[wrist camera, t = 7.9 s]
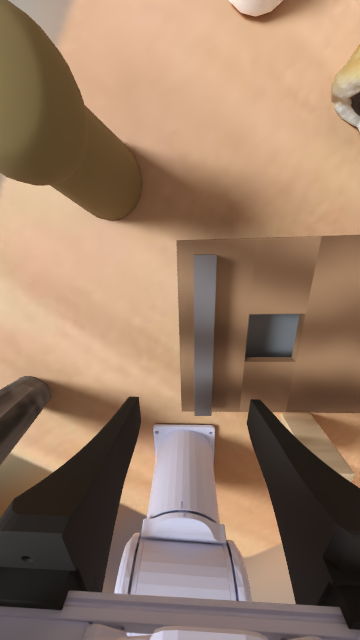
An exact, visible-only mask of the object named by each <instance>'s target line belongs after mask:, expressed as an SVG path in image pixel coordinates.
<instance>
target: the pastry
mask: <svg viewBox="0 0 360 640" xmlns="http://www.w3.org/2000/svg"><path fill="white" fill-rule="evenodd" d="M331 101H332V102H333V103H334V109H335V111H336V112H337V113H338V115H339V116H340V118H341V119H344V120H345V121H346V122H348V123H349V124H351V125H353V126H356V127H357V128H358V130H359V132H360V45H359V46H358V48H357V49H356V51H355V52H354V54H353V55H352V56H351V58H350V59H349V61H348V62H347V63H346V65H345V66H344V67H343V68H342V69H341V70H340V71H339V72H338V73H337V74H336V76H335V79H334V81H333V83H332V87H331Z"/></svg>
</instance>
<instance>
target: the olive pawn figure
mask: <svg viewBox="0 0 360 640" xmlns="http://www.w3.org/2000/svg"><path fill="white" fill-rule="evenodd" d="M0 173H1V174H3V175H5V176H6V177H9V178H11V179H14V180H17V181H20V182H24V183H28V184H32V185H50V186H52V187H53V188H55V189H56V190H58V191H59V192H61V193H62V194H63V195H65V196H66V197H68V198H69V199H71V200H72V201H74V202H75V203H76V204H78V205H79V206H81V207H82V208H84V209H85V210H87V211H88V212H90V213H91V214H93V215H94V216H96V217H98V218H101V219H105V220H117V219H121V218H123V217H124V216H126V215H128V214H129V213H130V212H131V211H132V210H133V209H134V208H135V207H136V204H137V202H138V200H139V198H140V195H141V187H142V179H141V172H140V168H139V165H138V163H137V161H136V158H135V156H134V155H133V154H132V153H131V151H130V150H129V149H128V147H127V146H126V145H125V144H124V143H123V142H122V141H121V140H120V139H119V138H118V137H117V136H116V135H115V134H114V133H113V132H112V131H111V130H110V129H109V128H107V127H106V126H105V125H104V124H103V123H102V122H101V121H100V120H99V119H98V118H97V117H96V116H95V115H94V114H93V113H92V112H91V111H90V110H89V109H88V108H87V107H86V106H85V105H84V101H83V99H82V96H81V93H80V90H79V88H78V86H77V83H76V81H75V79H74V77H73V75H72V72H71V70H70V68H69V66H68V64H67V63H66V61H65V59H64V58H63V56H62V55H61V53H60V52H59V50H58V49H57V48H56V46H55V45H54V44H53V42H52V41H51V40H50V39H49V37H48V36H47V35H46V33H45V32H44V31H43V30H42V28H41V27H40V26H39V25H38V24H36V22H35V21H33V20H32V19H31V18H30V17H29V16H28V15H27V14H26V13H25V12H23V11H22V10H20V9H19V8H18V7H16V6H15V5H14V4H12V3H11V2H10V1H8V0H0Z"/></svg>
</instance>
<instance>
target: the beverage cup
mask: <svg viewBox="0 0 360 640" xmlns="http://www.w3.org/2000/svg"><path fill="white" fill-rule="evenodd" d="M50 394H51V393H50V390H49V388H48V387H47V385H46V384H45V383H44V382H42V381H41V380H39V379H37V378H35V377H31V376H24V377H21V378H19V379H18V380H17V381H15V382H13V383H11V384H10V385H7V386H6V387H4V388H3V389H1V390H0V465H1V464H2V462H3V461H4V460H5V458H6V457H7V456H8V454H9V453H10V452H11V451H12V449H13V448H14V447H15V445H16V444H17V443H18V441H19V440H20V439H21V437H22V436H23V435H24V433H25V432H26V431H27V430H28V428H29V427H30V426H31V424H32V423H33V422H34V420H35V419H36V418H37V416H38V415H39V414H40V412H41V411H42V409H43V407H44V406H45V404H46V403H47V402H48V401H49V399H50Z"/></svg>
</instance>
